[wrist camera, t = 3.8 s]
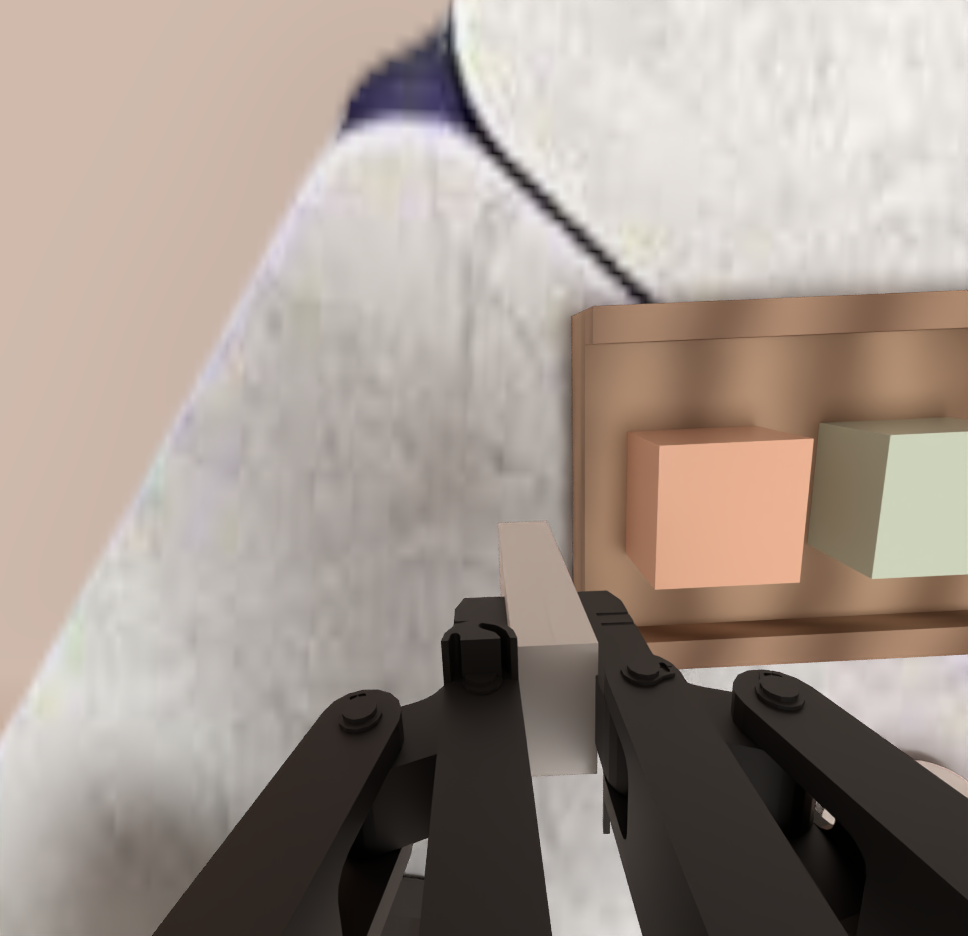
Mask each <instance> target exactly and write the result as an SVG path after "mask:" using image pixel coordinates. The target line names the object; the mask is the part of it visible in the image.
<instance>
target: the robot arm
mask: <svg viewBox="0 0 968 936" xmlns="http://www.w3.org/2000/svg"><path fill="white" fill-rule="evenodd" d="M498 537H499V563H500V589H501V597H482V598H464V599H463V601H462V602H461V603H460V604H459V605H458V606H457V608H456V609H455V616H454V626H453V627H452V628H451V629H449V630H448V631H447V632H446V633H445V634H444V636H443V638H442V640H441V648H442V662H443V676H444V686H443V687H442V688H441V689H440V690H439V691H437V692H436V693H435V694H433V695H432V696H430V697H428V698H426V699H424V700H421V701H418V702H416V703H412V704H409V705H405V706H402V707H400V703H399V700H398V699H396V698H395V697H394V696H393V695H392V694H391V693H388V692H384V691H381V690H361V691H357V692H354V693H350V694H347V695H345V696H343V697H341V698H340V699H338V700H336V701H334V702H333V703H332V704H331V705H330V706H329V707H328V708H327V709H326V710H325V711H324V712H323V713H322V714H321V716H320V717H319V718H318V720H317V721H316V722H315V723H314V725H313V726H312V727H311V729H310V730H309V731H308V733H307V734H306V735H305V736H304V738H303V739H302V740H301V742H300V743H299V744H298V746H297V747H296V748H295V750H294V751H293V752H292V753H291V755H290V756H289V757H288V759H287V760H286V761H285V763H284V764H283V765H282V766H281V768H280V769H279V770H278V772H277V773H276V774H275V776H274V777H273V778H272V780H271V781H270V782H269V783H268V785H267V786H266V787H265V789H264V790H263V791H262V793H261V794H260V795H259V797H258V798H257V799H256V800H255V802H254V803H253V804H252V806H251V807H250V808H249V810H248V811H247V812H246V813H245V815H244V816H243V817H242V819H241V820H240V821H239V823H238V824H237V825H236V827H235V828H234V829H233V830H232V832H231V833H230V834H229V836H228V837H227V838H226V840H225V841H224V842H223V843H222V845H221V846H220V847H219V849H218V850H217V851H216V853H215V854H214V855H213V857H212V858H211V859H210V860H209V862H208V863H207V864H206V866H205V867H204V868H203V870H202V871H201V872H200V873H199V875H198V876H197V877H196V879H195V880H194V881H193V883H192V884H191V885H190V887H189V888H188V889H187V890H186V892H185V893H184V894H183V896H182V897H181V898H180V900H179V901H178V902H177V903H176V905H175V906H174V907H173V909H172V910H171V911H170V913H169V914H168V915H167V917H166V918H165V919H164V920H163V922H162V923H161V924H160V926H159V927H158V928H157V930H156V931H155V932H154V933H153V935H152V936H552V931H551V924H550V916H549V908H548V901H547V893H546V885H545V878H544V870H543V862H542V855H541V847H540V839H539V832H538V824H537V816H536V809H535V801H534V793H533V786H532V778H531V777H532V776H554V775H575V774H597V751H598V754H599V758H600V761H601V764H602V768H603V834H610V822H611V826H612V829H613V833H614V836H615V840H616V843H617V847H618V850H619V854H620V857H621V861H622V865H623V868H624V872H625V875H626V879H627V882H628V886H629V889H630V893H631V896H632V900H633V904H634V907H635V911H636V914H637V918H638V921H639V925H640V928H641V932H642V936H968V798H967V797H965V796H964V795H963V794H961V793H960V792H958V791H957V790H956V789H954V788H953V787H951V786H950V785H949V784H947V783H946V782H944V781H943V780H942V779H940V778H939V777H937V776H936V775H935V774H933V773H932V772H930V771H929V770H928V769H926V768H925V767H923V766H922V765H921V764H919V763H918V762H916V761H915V760H914V759H912V758H911V757H909V756H908V755H907V754H905V753H904V752H902V751H901V750H900V749H898V748H897V747H895V746H894V745H893V744H891V743H890V742H888V741H887V740H886V739H884V738H883V737H881V736H880V735H879V734H877V733H876V732H874V731H873V730H872V729H870V728H869V727H867V726H866V725H865V724H863V723H862V722H860V721H859V720H857V719H856V718H855V717H853V716H852V715H850V714H849V713H848V712H846V711H845V710H843V709H842V708H841V707H839V706H838V705H836V704H835V703H834V702H832V701H831V700H829V699H828V698H827V697H825V696H824V695H822V694H821V693H820V692H818V691H817V690H815V689H814V688H813V687H811V686H809V685H808V684H806V683H804V682H802V681H800V680H799V679H797V678H795V677H792V676H789V675H786V674H783V673H781V672H776V671H770V670H749V671H746V672H744V673H741V674H739V675H737V677H736V679H735V680H734V682H733V690H732V692H730V691H724V690H718V689H712V688H706V687H701V686H697V685H693V684H690V683H687V682H686V680H685V678H684V677H683V675H682V674H681V672H680V671H679V670H678V669H677V668H676V667H675V666H674V665H673V664H672V663H671V662H669V661H667V660H665V659H663V658H662V657H660V656H656V655H653V653H652V652H651V650H650V648H649V646H648V645H647V643H646V641H645V640H644V638H643V636H642V635H641V633H640V631H639V629H638V628H637V626H636V624H634V621H633V619H632V618H631V616H630V614H628V611H627V609H626V607H625V606H624V604H623V602H622V601H621V600H620V599H619V598H617V597H616V596H614V595H613V594H611V593H610V592H609V591H607V590H604V591H581V592H577V591H576V589H575V586H574V584H573V582H572V579H571V577H570V575H569V572H568V570H567V567H566V565H565V563H564V560H563V558H562V555H561V553H560V551H559V548H558V546H557V544H556V541H555V539H554V536H553V534H552V532H551V529H550V527H549V525H548V522H547V521H533V522H510V523H498ZM816 801H817V802H818V803H819V804H820V805H821V806H822V807H823V808H824V809H825V810H826V811H827V812H829V813H830V814H831V815H832V816H833V817H834V818H835V822H834V825H833V824H830V823H829V822H828V821H827V820H825V819H824V818H823V817H822V816H821V815H820V814H819V813H818V812H817V811H816V810H815V804H816ZM428 837H429V838H428ZM426 838H428V848H427V858H426V868H425V878H424V880H422V879H415V878H404V877H403V874H404V871H405V869H406V866H407V863H408V861H409V858H410V855H411V851H412V846H413V843H415V842H418V841H420V840H423V839H426Z"/></svg>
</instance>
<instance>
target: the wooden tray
mask: <svg viewBox="0 0 968 936" xmlns="http://www.w3.org/2000/svg"><path fill="white" fill-rule="evenodd" d="M937 417H950V418H959V419H968V290H959V291H936V292H912V293H889V294H866V295H842V296H819V297H796V298H773V299H749V300H726V301H703V302H679V303H656V304H633V305H609V306H592V307H590V308H588V309H586V310H584V311H582V312H580V313H578V314H576V315H574V316H572V463H573V584H574V586H575V589H576V591H577V592H581V591H604V590H607V591H609V592H610V593H611V594H613V595H614V596H616V597H617V598H619V599H620V600H621V601H622V602H623V604H624V606H625V607H626V609H627V611H628V614H630V616H631V618H632V619H633V621H634V624H636V626H637V628H638V629H639V631H640V633H641V635H642V636H643V638H644V640H645V641H646V643H647V645H648V646H649V648H650V650H651V652H652V653H653V655H656V656H660V657H662V658H663V659H665V660H667V661H669V662H671V663H672V664H673V665H674V666H675V667H676V668H677V669H692V668H711V667H731V666H750V665H770V664H789V663H809V662H829V661H848V660H868V659H887V658H907V657H926V656H946V655H966V654H968V574H964V575H943V576H923V577H903V578H883V579H871V578H869V577H867V576H865V575H863V574H862V573H860V572H858V571H856V570H854V569H852V568H850V567H849V566H847V565H845V564H843V563H841V562H839V561H838V560H836V559H834V558H832V557H830V556H828V555H826V554H825V553H823V552H821V551H819V550H817V549H815V548H814V547H812V546H810V545H808V544H807V543H808V533H809V523H810V513H811V503H812V494H813V484H814V474H815V464H816V454H817V444H818V434H819V424H820V423H828V422H850V421H872V420H894V419H915V418H937ZM741 426H759V427H763V428H768V429H773V430H777V431H782V432H786V433H791V434H795V435H800V436H804V437H809V438H813V439H814V442H813V453H812V463H811V473H810V483H809V493H808V503H807V513H806V524H805V534H804V544H803V554H802V564H801V574H800V583H781V584H761V585H741V586H720V587H700V588H680V589H659V590H655V589H654V588H653V587H652V585H651V584H650V583H649V582H648V580H647V579H646V578H645V577H644V575H643V574H642V573H641V572H640V570H639V569H638V568H637V567H636V565H635V564H634V563H633V562H632V560H631V559H630V558H629V557H628V555H627V554H626V502H627V448H628V432H631V431H653V430H675V429H697V428H719V427H741Z"/></svg>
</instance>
